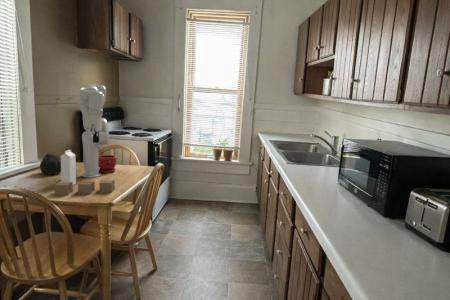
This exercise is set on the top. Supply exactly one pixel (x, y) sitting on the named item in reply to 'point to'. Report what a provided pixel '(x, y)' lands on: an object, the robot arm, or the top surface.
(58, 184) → the digit block 1
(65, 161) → the milk
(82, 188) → the plain block
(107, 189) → the digit block 7
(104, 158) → the plant pot
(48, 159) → the squash
